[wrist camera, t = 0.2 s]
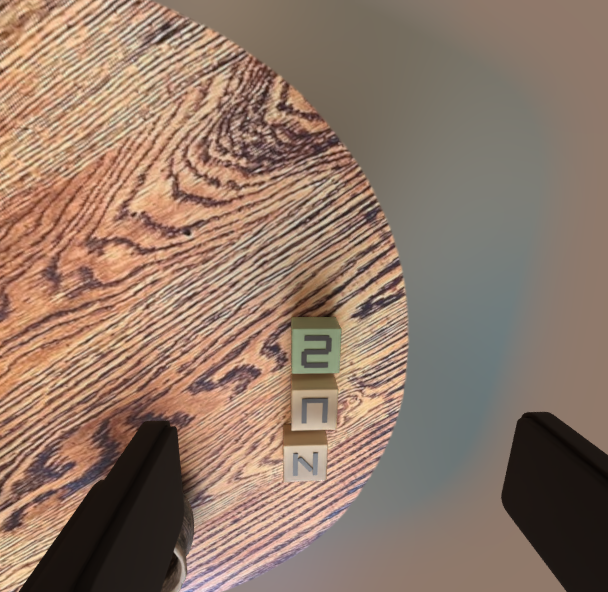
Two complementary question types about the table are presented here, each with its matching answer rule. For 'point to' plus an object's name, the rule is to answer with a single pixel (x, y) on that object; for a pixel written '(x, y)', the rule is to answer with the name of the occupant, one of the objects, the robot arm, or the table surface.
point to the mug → (180, 553)
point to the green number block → (315, 345)
